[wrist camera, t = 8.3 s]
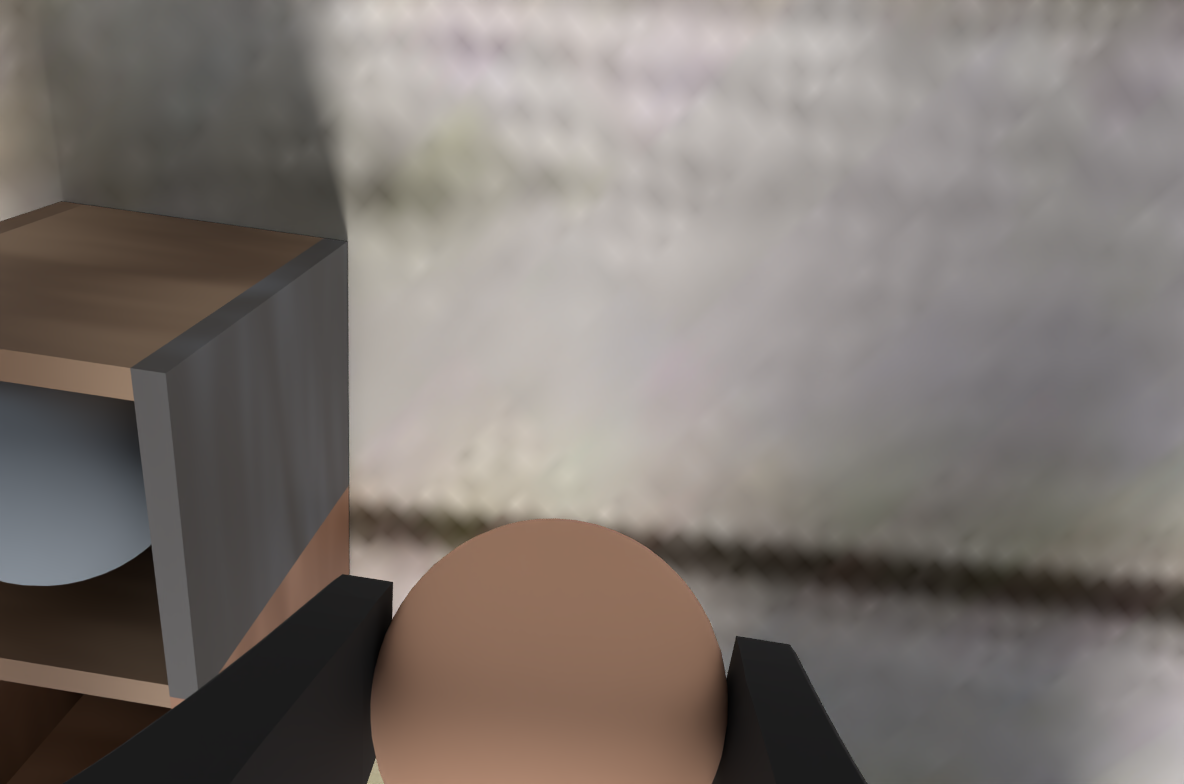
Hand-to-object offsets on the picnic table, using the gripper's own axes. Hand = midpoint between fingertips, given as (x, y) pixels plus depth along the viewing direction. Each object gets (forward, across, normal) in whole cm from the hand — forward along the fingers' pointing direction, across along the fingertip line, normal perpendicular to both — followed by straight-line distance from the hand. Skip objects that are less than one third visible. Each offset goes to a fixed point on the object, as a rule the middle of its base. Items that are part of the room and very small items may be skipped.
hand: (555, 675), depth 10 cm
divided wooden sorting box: (+9, +9, +4) cm, 14 cm away
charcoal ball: (+5, +9, +2) cm, 10 cm away
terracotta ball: (+2, 0, 0) cm, 2 cm away
